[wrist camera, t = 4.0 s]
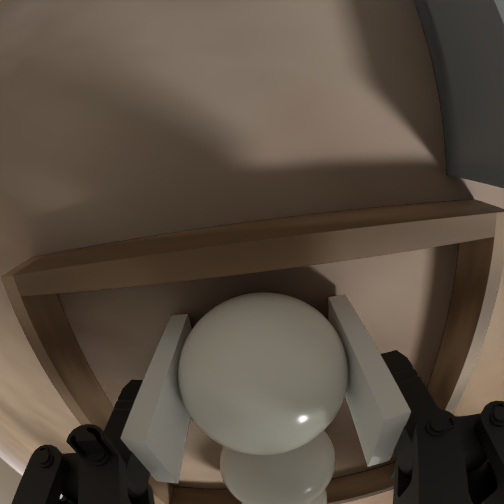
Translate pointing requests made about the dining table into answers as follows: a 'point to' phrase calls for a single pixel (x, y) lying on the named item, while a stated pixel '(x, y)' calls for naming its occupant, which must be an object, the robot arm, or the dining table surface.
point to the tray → (259, 260)
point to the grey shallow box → (469, 83)
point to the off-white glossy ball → (263, 373)
